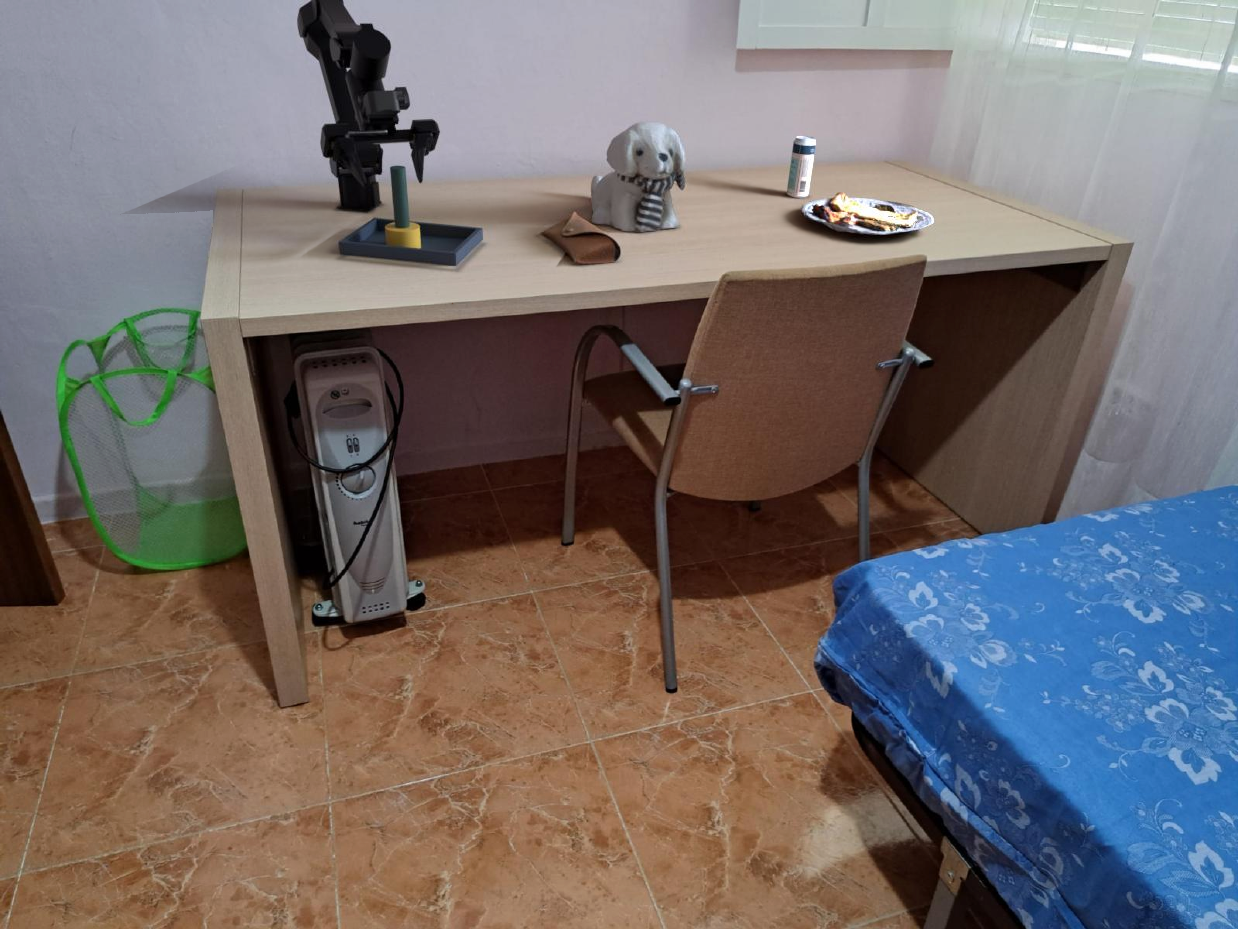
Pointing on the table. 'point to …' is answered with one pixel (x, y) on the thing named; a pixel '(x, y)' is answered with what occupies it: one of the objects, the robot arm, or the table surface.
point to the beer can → (801, 166)
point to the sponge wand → (401, 214)
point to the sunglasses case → (583, 241)
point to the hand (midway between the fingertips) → (393, 183)
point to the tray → (436, 248)
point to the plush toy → (640, 179)
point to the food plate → (865, 215)
